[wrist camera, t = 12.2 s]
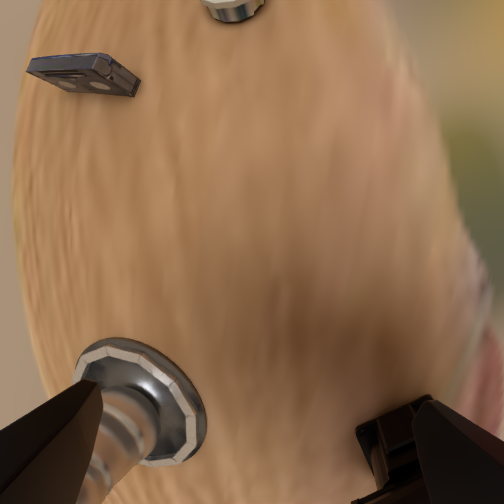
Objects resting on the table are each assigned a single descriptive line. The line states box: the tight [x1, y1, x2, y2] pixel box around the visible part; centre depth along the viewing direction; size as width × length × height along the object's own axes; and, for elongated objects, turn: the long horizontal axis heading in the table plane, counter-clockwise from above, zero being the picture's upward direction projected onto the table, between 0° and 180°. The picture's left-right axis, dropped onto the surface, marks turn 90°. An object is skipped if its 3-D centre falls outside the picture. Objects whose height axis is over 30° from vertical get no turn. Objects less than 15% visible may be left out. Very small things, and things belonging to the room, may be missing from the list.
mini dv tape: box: [26, 53, 141, 97], centre depth 19 cm, size 8×2×6 cm, turn 72°
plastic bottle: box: [76, 385, 161, 504], centre depth 13 cm, size 6×7×20 cm
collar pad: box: [72, 338, 207, 467], centre depth 23 cm, size 13×13×1 cm
